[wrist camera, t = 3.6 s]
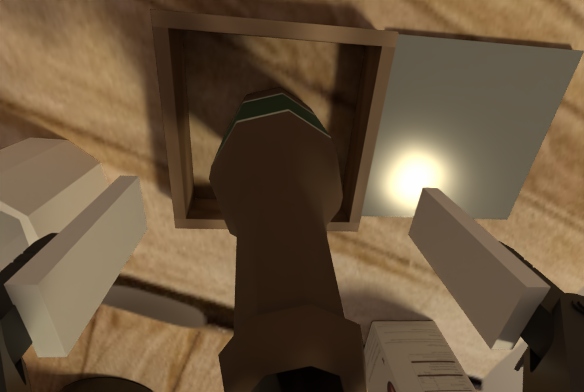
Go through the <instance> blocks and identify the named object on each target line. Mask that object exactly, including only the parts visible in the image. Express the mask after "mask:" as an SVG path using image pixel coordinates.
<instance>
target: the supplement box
mask: <svg viewBox="0 0 584 392" xmlns="http://www.w3.org/2000/svg"><path fill="white" fill-rule="evenodd" d="M364 354H365V361H366V386H367V390H368V392H476V390H475V388H474V387H473V385H472V383H471V382H470V380H469V378H468V377H467V375H466V373H465V372H464V370H463V368H462V366H461V365H460V363H459V362H458V360H457V358H456V357H455V355H454V353H453V352H452V350H451V348H450V347H449V345H448V343H447V342H446V340H445V338H444V337H443V335H442V333H441V332H440V330H439V328H438V327H437V325H436V323H435V322H434V321H373V322H372V325H371V328H370V331H369V335H368V338H367V341H366V344H365V348H364Z"/></svg>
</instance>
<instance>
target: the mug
mask: <svg viewBox="0 0 584 392" xmlns="http://www.w3.org/2000/svg"><path fill="white" fill-rule="evenodd" d="M108 187H109V184H108V182H107V179H106V176H105V173H104V170H103V167H102V164H101V162H99V161H98V160H96V159H95V158H94V157H92V156H91V155H89V154H88V153H86V152H85V151H83V150H82V149H80V148H79V147H78V146H76V145H75V144H73V143H72V142H70V141H69V140H62V139H47V138H33V137H30V138H28V139H25V140H23V141H20V142H18V143H15V144H13V145H10V146H8V147H5V148H3V149H0V271H1V270H3V269H4V268H5V267H6V266H7V265H8V264H9V263H13V260H14V259H15V258H16V257H18V256H19V255H20V254H23V251H24V250H26V249H27V248H28V247H29V246H30V245H31V244H32V243H34V242H35V241H37V240H38V239H40V238H42V237H44V236H46V235H48V234H50V233H59V232H60V231H62V230H63V229H64V228H65V227H66V226H67V225H68V224H69V223H70V222H71V221H72V220H73V219H74V218H75V217H77V216H78V215H79V214H80V213H81V212H82V211H83V210H84V209H85V208H86V207H87V206H88V205H89V204H90V203H92V202H93V201H94V200H95V199H96V198H97V197H98V196H99V195H100V194H101V193H102V192H103V191H104V190H106V189H107V188H108Z"/></svg>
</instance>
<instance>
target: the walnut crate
mask: <svg viewBox="0 0 584 392" xmlns="http://www.w3.org/2000/svg"><path fill="white" fill-rule="evenodd" d="M150 11H151V20H152V29H153V37H154V46H155V55H156V64H157V72H158V81H159V90H160V98H161V107H162V116H163V124H164V133H165V142H166V151H167V159H168V168H169V177H170V185H171V194H172V203H173V212H174V220H175V228H187V229H228V228H227V226H226V223H225V221H224V218H223V215H222V213H221V210H220V207H219V205H218V202H217V199H195V192H194V179H193V166H192V153H191V140H190V127H189V114H188V101H187V88H186V75H185V62H184V49H183V36H182V30H189V31H201V32H213V33H225V34H236V35H248V36H260V37H271V38H283V39H295V40H307V41H318V42H330V43H342V44H353V45H365V46H366V48H365V54H364V60H363V66H362V72H361V78H360V84H359V90H358V96H357V103H356V109H355V115H354V121H353V127H352V133H351V139H350V145H349V151H348V157H347V163H346V169H345V175H344V181H343V188H342V193H343V199H342V203H341V207H340V210H339V211H338V212H337V213H336V215H335V216H334V217H333V218H332V220H331V221H330V222H329V223H328V225H327V231H353V232H358V228H359V224H360V219H361V214H362V209H363V204H364V199H365V194H366V189H367V184H368V179H369V175H370V170H371V165H372V160H373V155H374V150H375V145H376V140H377V135H378V131H379V126H380V121H381V116H382V111H383V106H384V101H385V96H386V91H387V86H388V82H389V77H390V72H391V67H392V62H393V57H394V52H395V47H396V42H397V38H398V33H399V32H396V31H385V30H374V29H363V28H352V27H341V26H330V25H320V24H309V23H298V22H287V21H276V20H265V19H254V18H243V17H232V16H221V15H210V14H199V13H188V12H177V11H166V10H156V9H150Z"/></svg>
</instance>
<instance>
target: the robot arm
mask: <svg viewBox="0 0 584 392" xmlns="http://www.w3.org/2000/svg"><path fill="white" fill-rule="evenodd" d="M147 229H148V228H147V223H146V217H145V211H144V205H143V199H142V193H141V187H140V181H139V176H119V177H118V178H117V179H116V180H115V181H114V182H113V183H112V184H111V185H110V186H109V187H108V188H107V189H106V190H104V191H103V192H102V193H101V194H100V195H99V196H98V197H97V198H96V199H95V200H94V201H93V202H92V203H90V204H89V205H88V206H87V207H86V208H85V209H84V210H83V211H82V212H81V213H80V214H79V215H78V216H77V217H75V218H74V219H73V220H72V221H71V222H70V223H69V224H68V225H67V226H66V227H65V228H64V229H63V230H62V231H60V232H59V233H50V234H48V235H46V236H44V237H42V238H40V239H38V240H37V241H35V242H34V243H32V244H31V245H30V246H29V247H28V248H27V249H26V250H24V251H23V254H20V255H19V256H18V257H16V258H15V259H14V260H13V263H9V264H8V265H7V266H6V267H5V268H4V269H3V270H1V271H0V392H32V391H31V386H30V382H29V377H28V373H27V369H26V364H25V362H24V360H23V358H22V356H23V354H24V353H25V352H26V350H27V349H28V348H29V347H30V345H31V344H32V345H33V347H34V350H35V352H36V354H37V356H38V357H67V356H68V354H69V353H70V351H71V350H72V348H73V346H74V345H75V343H76V342H77V340H78V338H79V337H80V335H81V334H82V332H83V330H84V329H85V327H86V326H87V324H88V323H89V321H90V319H91V318H92V316H93V315H94V313H95V311H96V310H97V308H98V307H99V305H100V303H101V302H102V300H103V299H104V297H105V296H106V294H107V292H108V291H109V289H110V288H111V286H112V284H113V283H114V281H115V280H116V278H117V277H118V275H119V273H120V272H121V270H122V269H123V267H124V265H125V264H126V262H127V261H128V259H129V257H130V256H131V254H132V253H133V251H134V250H135V248H136V246H137V245H138V243H139V242H140V240H141V238H142V237H143V235H144V234H145V232H146V230H147ZM408 235H409V236H410V238H411V239H412V240H413V242H414V243H415V245H416V246H417V247H418V249H419V250H420V251H421V253H422V254H423V256H424V257H425V258H426V260H427V261H428V263H429V264H430V265H431V267H432V268H433V270H434V271H435V272H436V274H437V275H438V277H439V278H440V279H441V281H442V282H443V284H444V285H445V286H446V288H447V289H448V290H449V292H450V293H451V295H452V296H453V297H454V299H455V300H456V302H457V303H458V304H459V306H460V307H461V309H462V310H463V311H464V313H465V314H466V316H467V317H468V318H469V320H470V321H471V322H472V324H473V325H474V327H475V328H476V329H477V331H478V332H479V334H480V335H481V336H482V338H483V339H484V341H485V342H486V343H487V345H488V346H489V348H490V349H491V350H505V349H513V348H514V346H515V344H516V343H517V341H518V340H519V338H520V336H521V337H522V339H523V340H524V341H525V342H526V343H527V344H528V347H527V349H526V351H525V352H524V353H523V355H522V357H521V358H520V360H519V361H518V363H517V364H516V366H515V370H517V371H519V369H520V367H523V392H584V296H581V295H578V294H573V293H564V292H563V291H562V290H560V289H559V288H558V287H557V286H556V285H555V284H553V283H552V282H551V281H550V280H549V279H548V278H546V277H545V276H544V275H543V274H542V273H541V272H539V271H538V270H537V269H536V268H533V266H532V265H531V264H530V263H529V262H528V261H527V260H524V258H523V257H522V256H521V255H520V254H518V253H517V252H516V251H515V250H514V249H512V248H510V247H509V246H507V245H505V244H503V243H502V242H500V241H498V240H497V239H495V238H494V237H493V236H492V235H491V234H490V233H489V232H487V231H486V230H485V229H484V228H483V227H482V226H481V225H479V224H478V223H477V222H476V221H475V220H474V219H473V218H471V217H470V216H469V215H468V214H467V213H466V212H465V211H464V210H462V209H461V208H460V207H459V206H458V205H457V204H456V203H454V202H453V201H452V200H451V199H450V198H449V197H448V196H446V195H445V194H444V193H443V192H442V191H441V190H440V189H438V188H428V187H423V188H422V191H421V195H420V198H419V201H418V204H417V208H416V211H415V214H414V218H413V221H412V224H411V228H410V231H409V234H408ZM59 392H151V391H150V390H148V389H147V388H145V387H143V386H141V385H139V384H136V383H133V382H130V381H126V380H121V379H114V378H91V379H85V380H81V381H77V382H74V383H72V384H69V385H67V386H66V387H64V388H63V389H61V390H60V391H59Z"/></svg>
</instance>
